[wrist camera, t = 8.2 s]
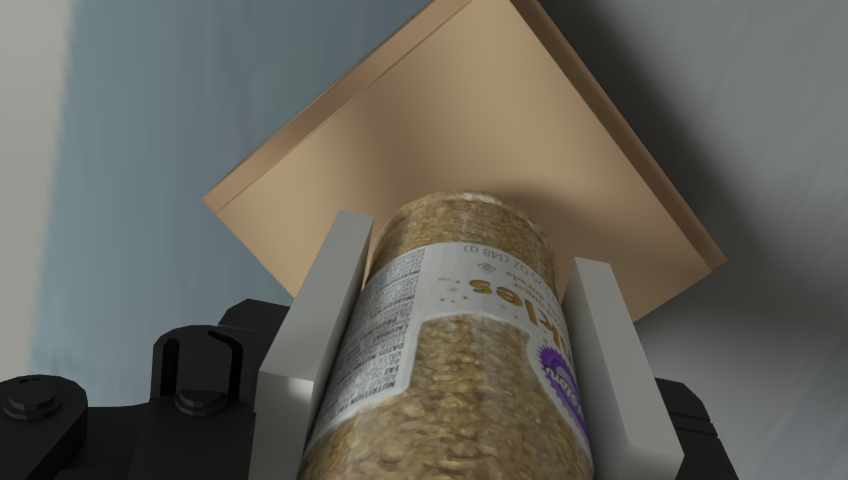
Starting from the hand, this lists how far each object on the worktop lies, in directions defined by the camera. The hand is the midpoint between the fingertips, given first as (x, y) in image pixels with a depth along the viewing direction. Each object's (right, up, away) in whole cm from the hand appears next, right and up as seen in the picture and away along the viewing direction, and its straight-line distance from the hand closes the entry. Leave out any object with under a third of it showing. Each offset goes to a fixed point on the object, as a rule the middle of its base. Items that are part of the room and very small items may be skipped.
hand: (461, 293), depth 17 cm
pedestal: (0, +3, +7) cm, 7 cm away
